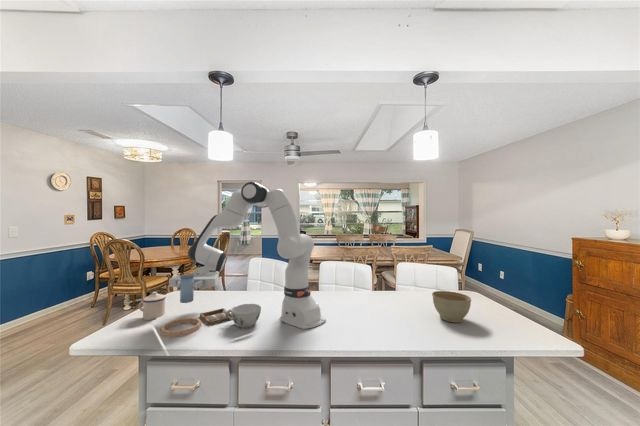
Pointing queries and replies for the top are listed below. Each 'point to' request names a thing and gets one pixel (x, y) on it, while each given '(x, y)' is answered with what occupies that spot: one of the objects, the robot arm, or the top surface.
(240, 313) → the teacup
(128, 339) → the top surface
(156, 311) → the teacup with lid
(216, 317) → the pebble
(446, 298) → the planter bowl
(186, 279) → the pebble jar
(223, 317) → the pebble
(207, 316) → the parts tray
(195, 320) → the tan flat ring
